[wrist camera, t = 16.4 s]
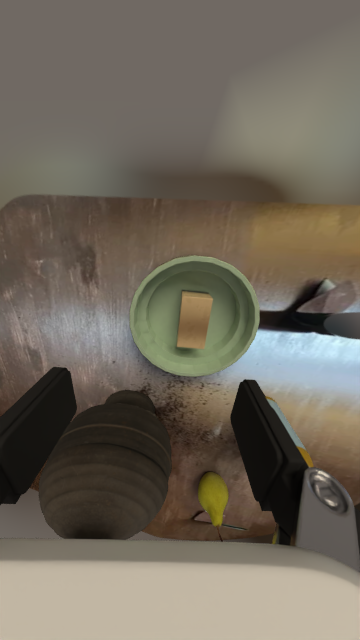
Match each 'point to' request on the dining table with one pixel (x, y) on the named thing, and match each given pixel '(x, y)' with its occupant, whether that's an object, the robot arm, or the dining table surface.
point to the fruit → (213, 497)
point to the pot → (107, 471)
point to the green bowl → (224, 324)
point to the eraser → (193, 319)
